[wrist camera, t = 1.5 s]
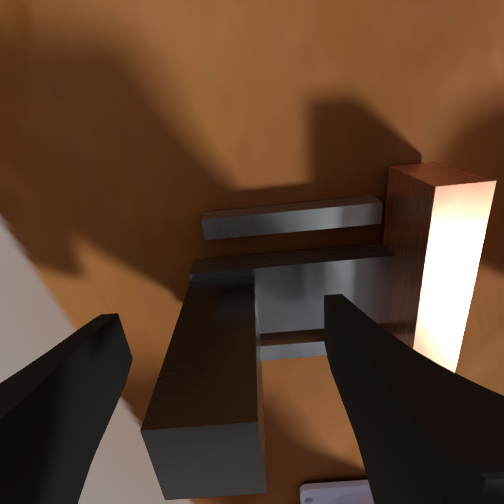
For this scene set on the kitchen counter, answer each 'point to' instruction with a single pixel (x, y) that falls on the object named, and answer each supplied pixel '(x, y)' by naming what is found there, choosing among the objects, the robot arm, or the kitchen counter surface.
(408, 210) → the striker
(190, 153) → the kitchen counter surface
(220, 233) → the rail
